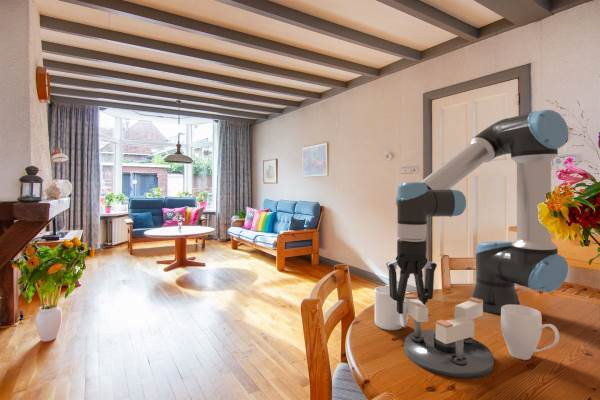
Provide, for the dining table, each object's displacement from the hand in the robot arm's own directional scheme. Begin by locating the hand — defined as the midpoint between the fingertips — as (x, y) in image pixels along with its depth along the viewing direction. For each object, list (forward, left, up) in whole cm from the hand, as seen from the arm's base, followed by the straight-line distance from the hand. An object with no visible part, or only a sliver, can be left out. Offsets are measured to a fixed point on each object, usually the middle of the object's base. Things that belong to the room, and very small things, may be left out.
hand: (410, 324), depth 89 cm
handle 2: (-13, +5, -1) cm, 14 cm away
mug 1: (+2, -9, -5) cm, 10 cm away
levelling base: (-6, +8, -4) cm, 11 cm away
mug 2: (-24, +12, -5) cm, 28 cm away
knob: (-3, +16, -1) cm, 16 cm away
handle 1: (0, +3, -1) cm, 3 cm away
